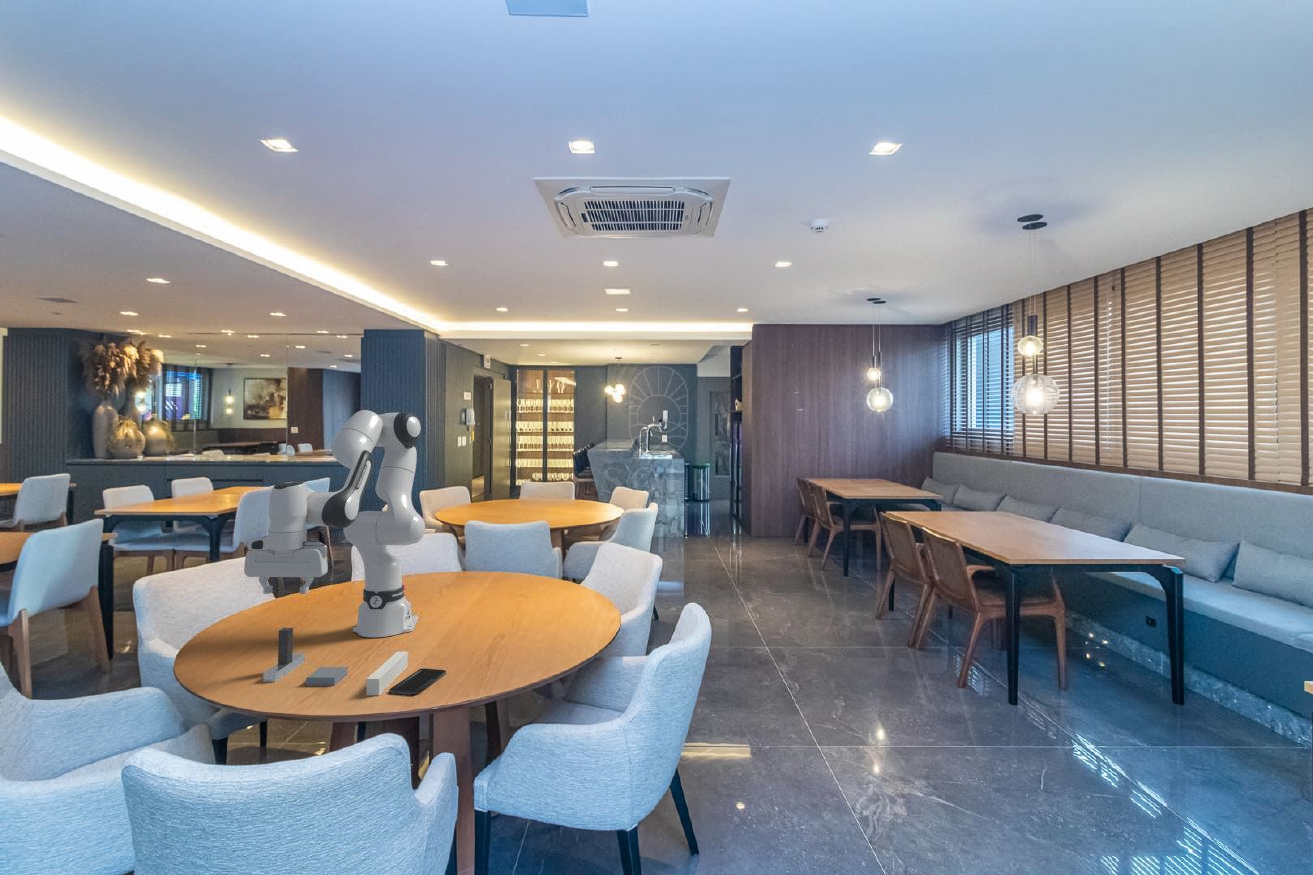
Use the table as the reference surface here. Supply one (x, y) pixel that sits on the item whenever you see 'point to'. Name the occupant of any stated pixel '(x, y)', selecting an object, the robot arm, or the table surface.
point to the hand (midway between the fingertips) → (286, 593)
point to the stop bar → (386, 673)
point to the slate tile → (326, 676)
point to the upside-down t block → (284, 657)
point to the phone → (417, 682)
